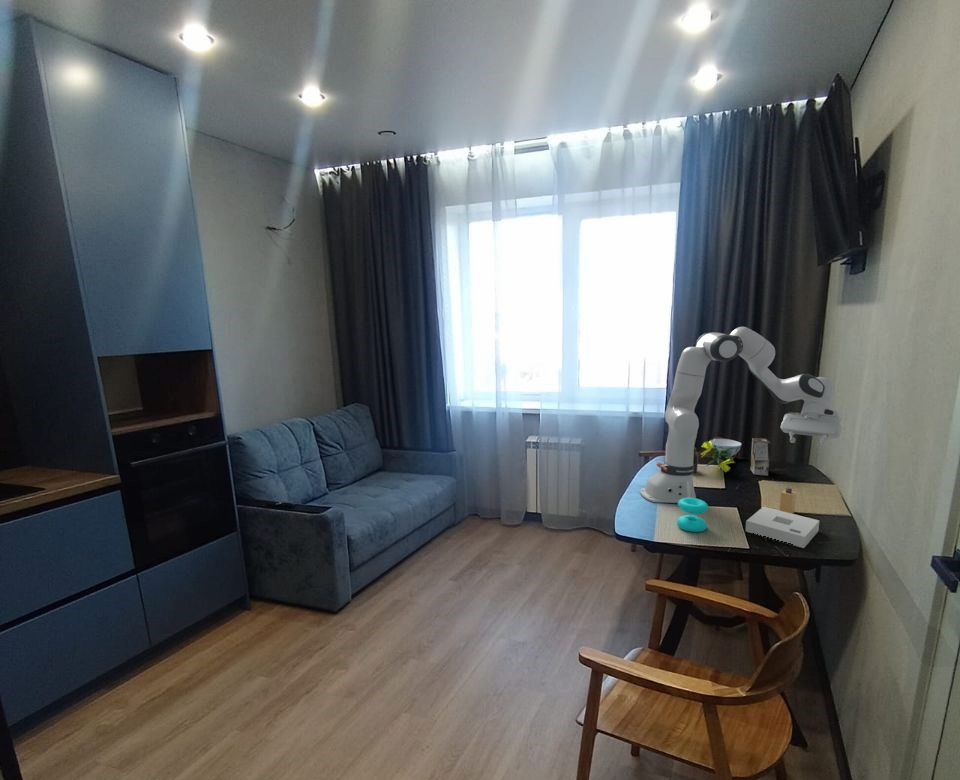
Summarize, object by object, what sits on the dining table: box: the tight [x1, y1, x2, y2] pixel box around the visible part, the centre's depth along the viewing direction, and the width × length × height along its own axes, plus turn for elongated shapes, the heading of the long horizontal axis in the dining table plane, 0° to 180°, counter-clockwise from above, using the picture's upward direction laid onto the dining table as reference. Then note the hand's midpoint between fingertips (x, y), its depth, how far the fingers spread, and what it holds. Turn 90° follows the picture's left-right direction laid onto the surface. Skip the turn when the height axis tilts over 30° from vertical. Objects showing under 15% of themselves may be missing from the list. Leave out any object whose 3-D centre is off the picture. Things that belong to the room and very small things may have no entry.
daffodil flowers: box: [699, 438, 736, 475], centre depth 242 cm, size 17×15×35 cm
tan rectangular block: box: [779, 487, 797, 514], centre depth 190 cm, size 4×4×10 cm
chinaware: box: [710, 438, 742, 459], centre depth 263 cm, size 15×15×8 cm
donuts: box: [676, 497, 709, 533], centre depth 178 cm, size 10×10×10 cm
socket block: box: [745, 506, 820, 549], centre depth 174 cm, size 18×18×4 cm
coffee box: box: [749, 437, 772, 477], centre depth 236 cm, size 9×6×16 cm
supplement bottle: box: [693, 446, 699, 474], centre depth 239 cm, size 7×7×12 cm
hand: (805, 443), depth 194 cm, fingers open, 8 cm apart
